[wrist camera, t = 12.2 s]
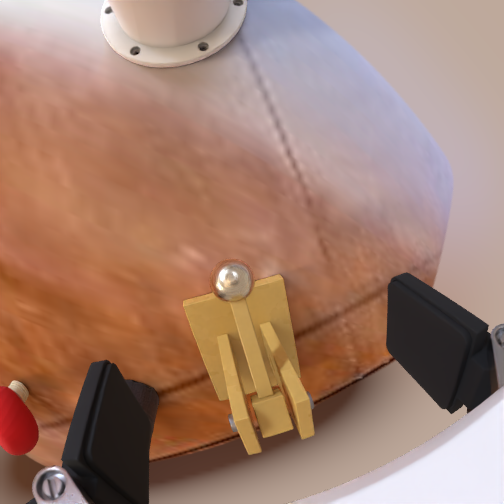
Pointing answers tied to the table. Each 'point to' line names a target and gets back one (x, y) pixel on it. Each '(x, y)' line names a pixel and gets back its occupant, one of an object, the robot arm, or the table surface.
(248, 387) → the bracket
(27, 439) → the red rounded lump
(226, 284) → the switch lever
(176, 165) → the table surface
